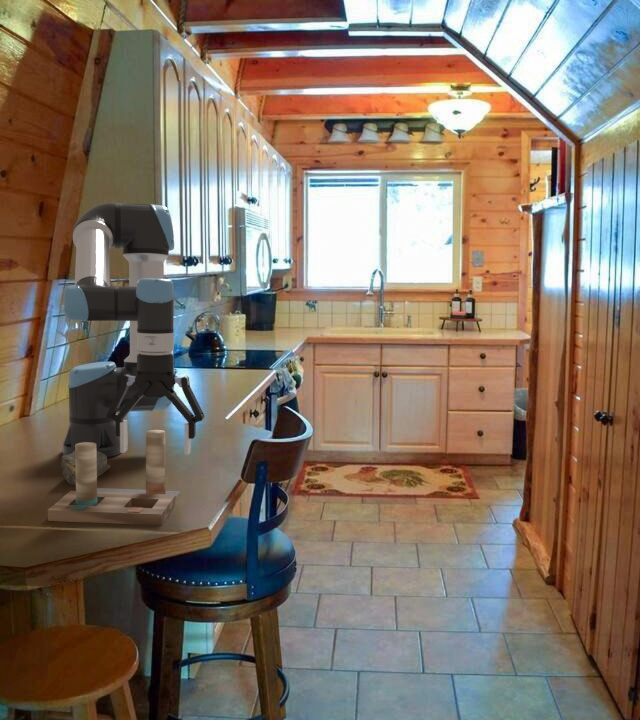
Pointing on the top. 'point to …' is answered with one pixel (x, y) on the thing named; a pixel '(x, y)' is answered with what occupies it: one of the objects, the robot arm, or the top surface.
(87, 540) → the top surface
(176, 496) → the mat
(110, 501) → the socket board
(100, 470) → the rock
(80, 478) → the peg
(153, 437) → the peg
